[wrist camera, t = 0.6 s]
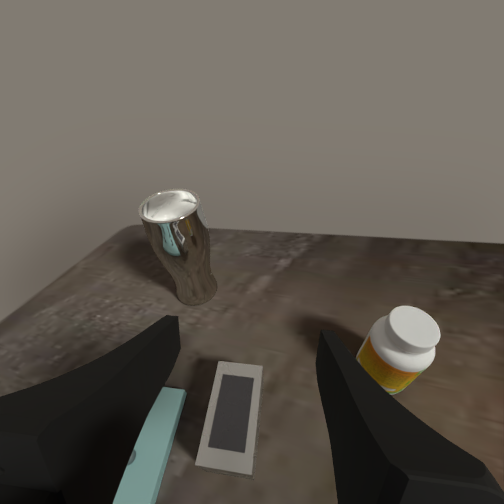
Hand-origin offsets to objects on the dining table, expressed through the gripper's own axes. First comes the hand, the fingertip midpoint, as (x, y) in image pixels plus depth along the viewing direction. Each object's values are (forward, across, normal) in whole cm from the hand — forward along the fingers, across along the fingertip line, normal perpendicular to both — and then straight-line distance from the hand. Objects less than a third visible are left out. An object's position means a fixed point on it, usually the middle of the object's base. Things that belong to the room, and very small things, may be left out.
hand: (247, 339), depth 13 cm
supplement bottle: (+13, -14, +13) cm, 23 cm away
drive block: (+7, +1, +17) cm, 18 cm away
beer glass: (+22, +10, +10) cm, 26 cm away
